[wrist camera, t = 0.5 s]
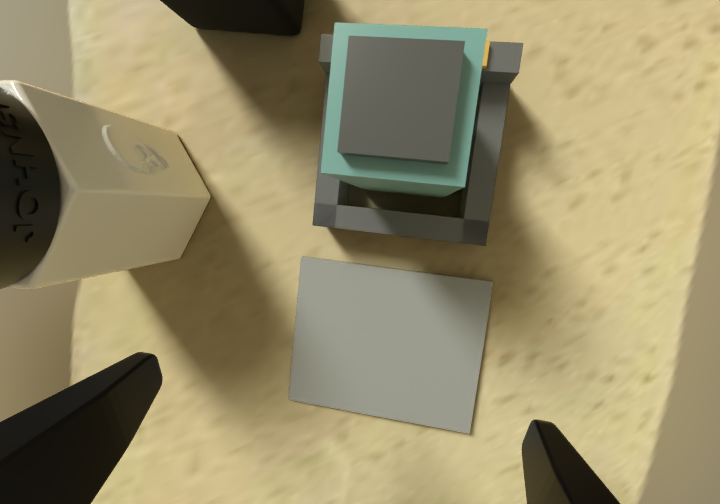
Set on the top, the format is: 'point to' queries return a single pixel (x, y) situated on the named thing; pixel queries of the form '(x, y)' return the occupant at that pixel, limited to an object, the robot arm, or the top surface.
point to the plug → (402, 107)
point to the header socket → (481, 171)
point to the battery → (242, 15)
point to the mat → (389, 342)
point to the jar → (88, 190)
